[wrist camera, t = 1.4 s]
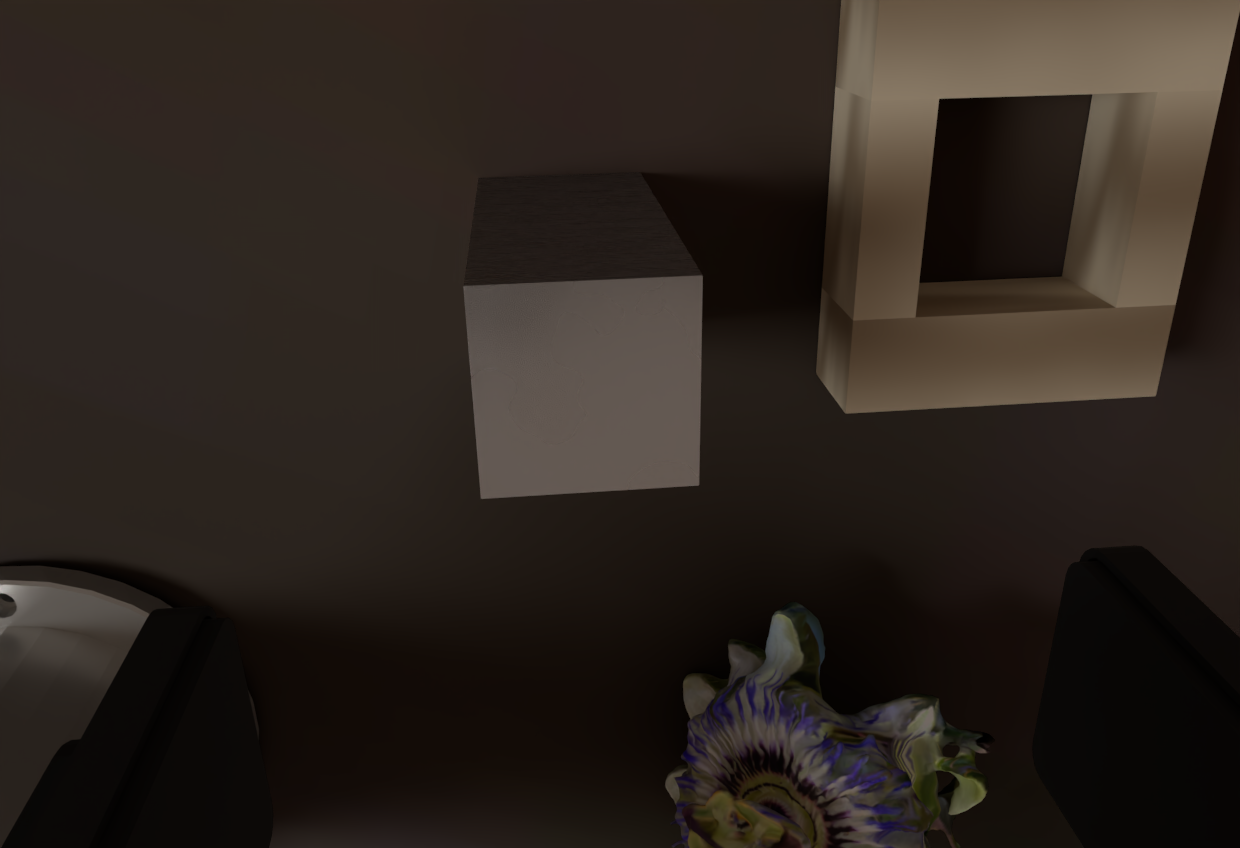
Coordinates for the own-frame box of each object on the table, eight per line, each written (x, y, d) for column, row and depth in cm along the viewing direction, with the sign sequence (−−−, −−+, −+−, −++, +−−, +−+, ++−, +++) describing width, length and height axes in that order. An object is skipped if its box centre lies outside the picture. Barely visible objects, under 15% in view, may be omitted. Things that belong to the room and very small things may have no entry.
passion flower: (683, 597, 41) (703, 585, 29) (959, 636, 40) (1094, 640, 28) (645, 900, 38) (650, 1021, 27) (936, 944, 38) (1073, 1087, 26)
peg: (641, 325, 30) (699, 485, 21) (489, 332, 30) (481, 498, 20) (640, 172, 28) (702, 275, 19) (478, 178, 28) (463, 285, 19)
